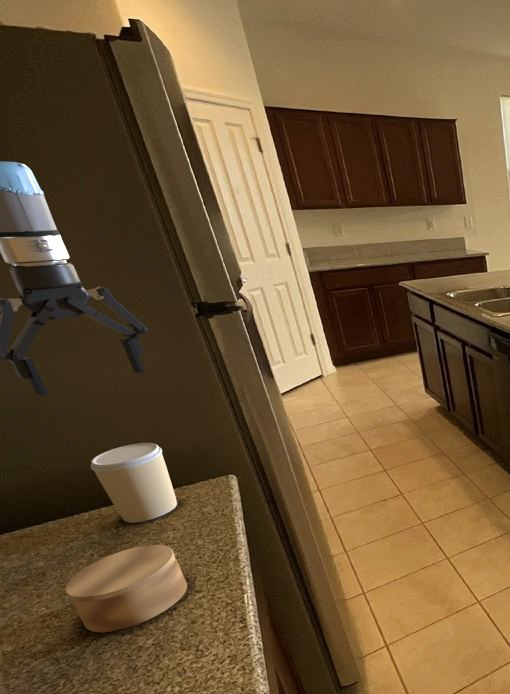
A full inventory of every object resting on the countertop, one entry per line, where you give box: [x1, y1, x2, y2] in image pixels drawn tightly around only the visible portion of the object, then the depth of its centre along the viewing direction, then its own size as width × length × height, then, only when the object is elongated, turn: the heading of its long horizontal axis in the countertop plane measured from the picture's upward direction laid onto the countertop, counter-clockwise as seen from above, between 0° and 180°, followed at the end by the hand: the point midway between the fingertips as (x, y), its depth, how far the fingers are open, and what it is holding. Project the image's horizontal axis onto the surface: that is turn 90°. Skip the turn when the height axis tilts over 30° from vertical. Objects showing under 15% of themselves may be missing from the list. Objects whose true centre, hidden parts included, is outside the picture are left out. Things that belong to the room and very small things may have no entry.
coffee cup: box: [90, 442, 178, 524], centre depth 95 cm, size 9×9×12 cm
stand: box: [64, 544, 188, 633], centre depth 73 cm, size 11×11×6 cm
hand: (94, 382), depth 96 cm, fingers open, 13 cm apart
